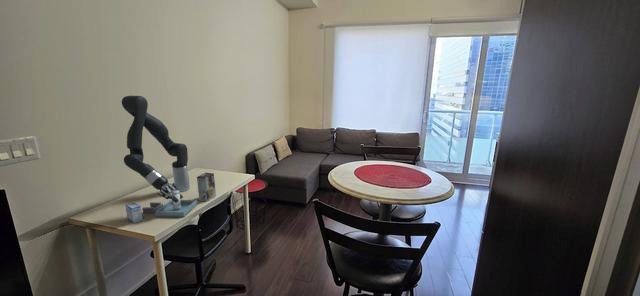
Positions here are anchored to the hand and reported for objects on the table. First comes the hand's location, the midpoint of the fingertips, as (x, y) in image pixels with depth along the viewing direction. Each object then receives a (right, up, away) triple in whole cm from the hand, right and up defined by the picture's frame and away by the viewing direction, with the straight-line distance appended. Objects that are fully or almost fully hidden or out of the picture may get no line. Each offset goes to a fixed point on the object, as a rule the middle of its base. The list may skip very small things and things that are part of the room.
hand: (179, 199), depth 156 cm
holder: (-17, -6, +2) cm, 18 cm away
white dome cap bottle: (-2, -5, +1) cm, 5 cm away
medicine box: (-19, -9, -10) cm, 23 cm away
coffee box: (+8, -3, +19) cm, 21 cm away
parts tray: (-2, -7, +2) cm, 7 cm away
